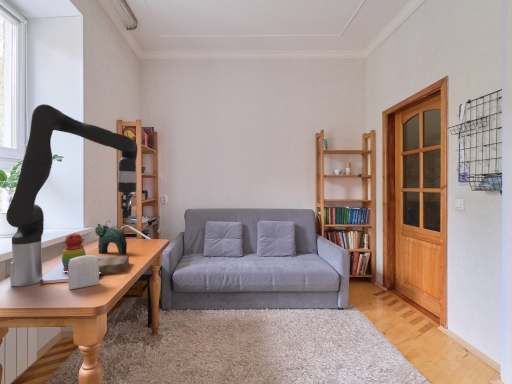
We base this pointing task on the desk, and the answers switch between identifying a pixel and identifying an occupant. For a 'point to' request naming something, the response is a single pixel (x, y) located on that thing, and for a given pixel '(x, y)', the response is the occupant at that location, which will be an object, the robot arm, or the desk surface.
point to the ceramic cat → (111, 238)
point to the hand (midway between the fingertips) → (127, 217)
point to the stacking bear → (72, 249)
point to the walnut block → (113, 264)
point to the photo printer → (83, 271)
